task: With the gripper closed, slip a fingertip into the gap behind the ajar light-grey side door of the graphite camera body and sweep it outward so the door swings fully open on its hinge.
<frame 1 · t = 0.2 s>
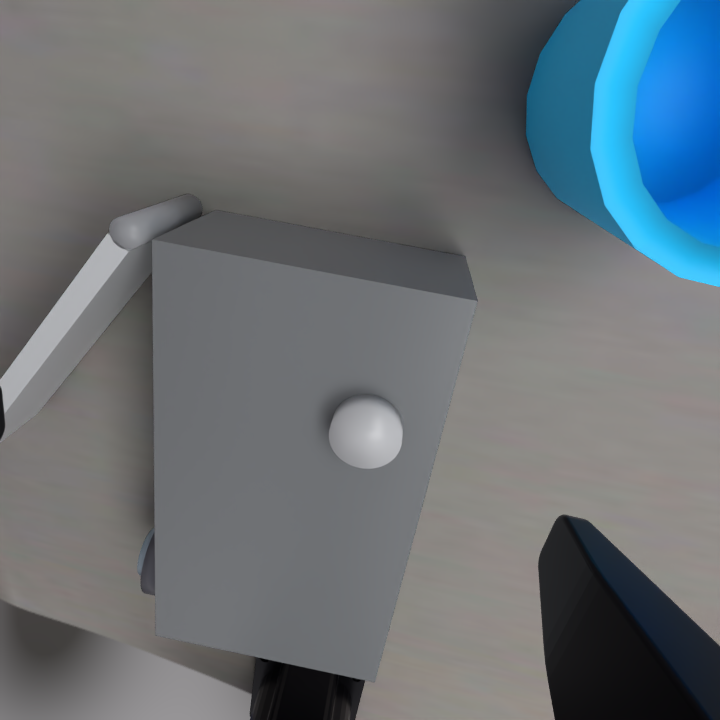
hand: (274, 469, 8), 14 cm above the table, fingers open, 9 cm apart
door: (68, 335, 21), point 3 cm above the table, hinge at 35.0°
mug: (644, 39, 18), on the table
camera body: (312, 424, 25), on the table
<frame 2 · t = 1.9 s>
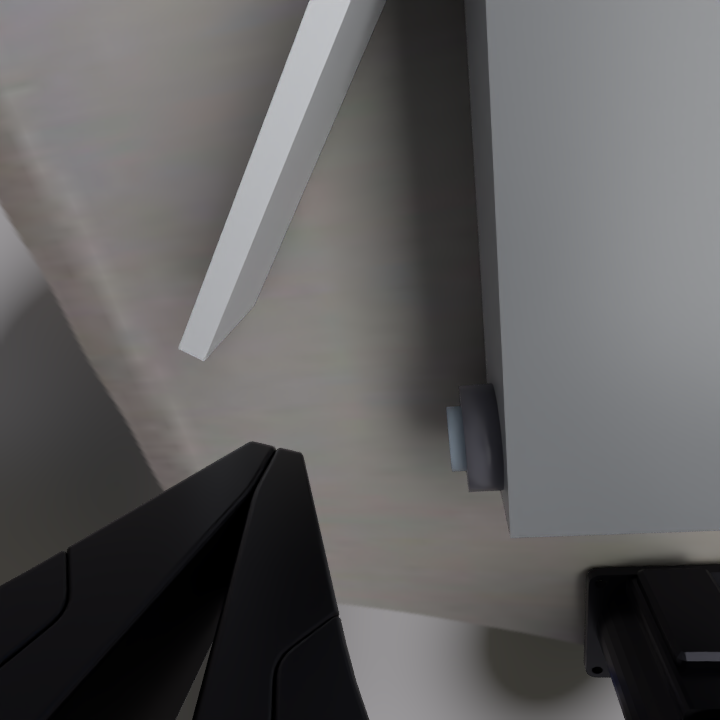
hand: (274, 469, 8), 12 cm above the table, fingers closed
door: (304, 113, 15), point 3 cm above the table, hinge at 35.0°
camera body: (635, 192, 17), on the table
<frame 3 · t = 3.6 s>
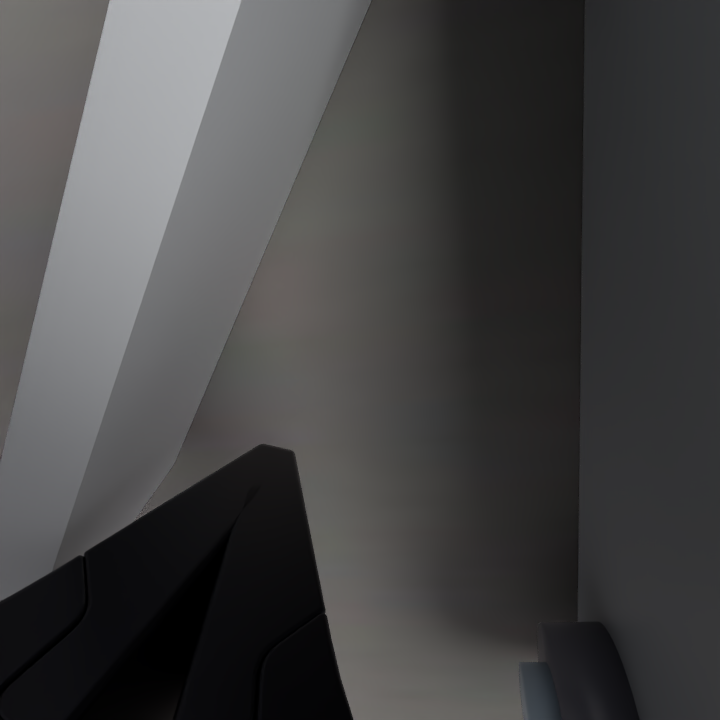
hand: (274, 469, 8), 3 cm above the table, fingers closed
door: (227, 147, 6), point 3 cm above the table, hinge at 35.6°, touching gripper
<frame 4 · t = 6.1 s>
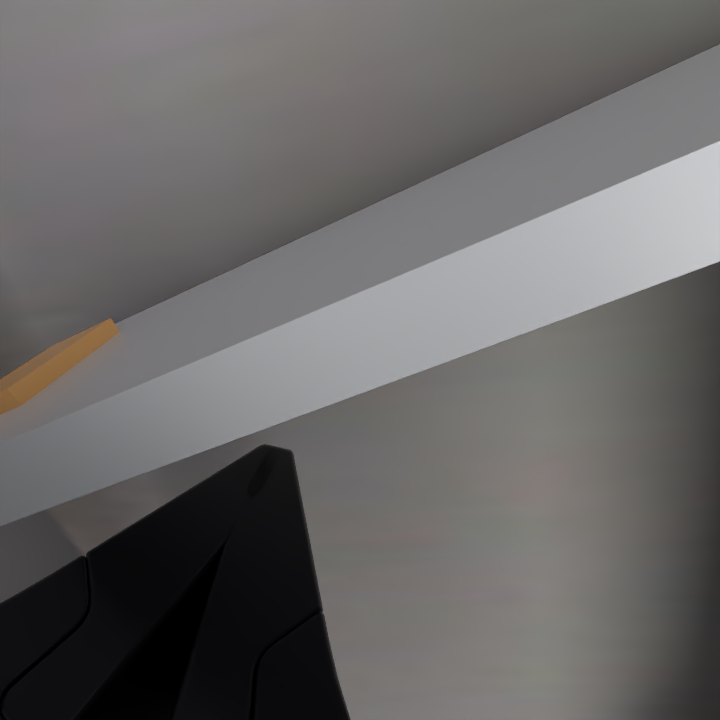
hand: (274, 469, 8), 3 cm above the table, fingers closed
door: (446, 228, 6), point 3 cm above the table, hinge at 74.1°, touching gripper
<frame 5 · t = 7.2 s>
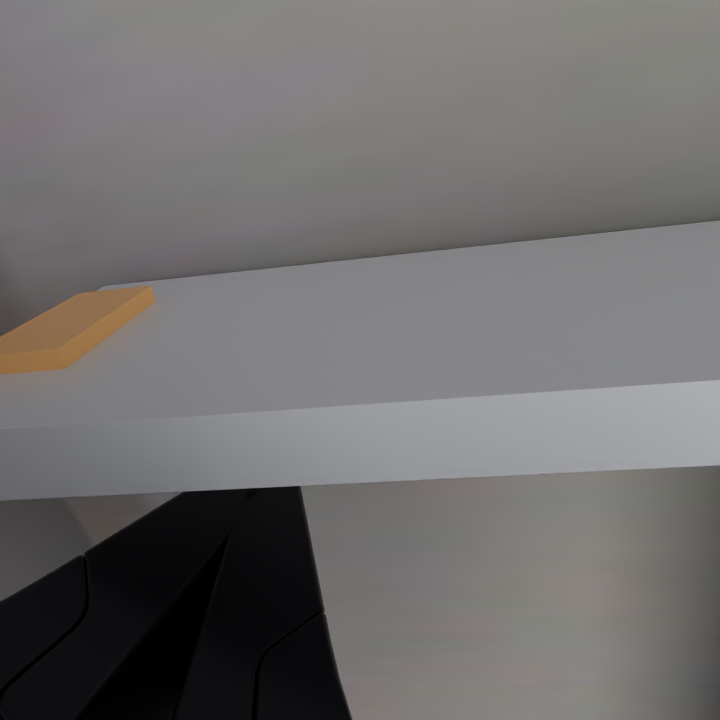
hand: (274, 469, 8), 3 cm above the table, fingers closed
door: (527, 316, 7), point 3 cm above the table, hinge at 91.4°, touching gripper
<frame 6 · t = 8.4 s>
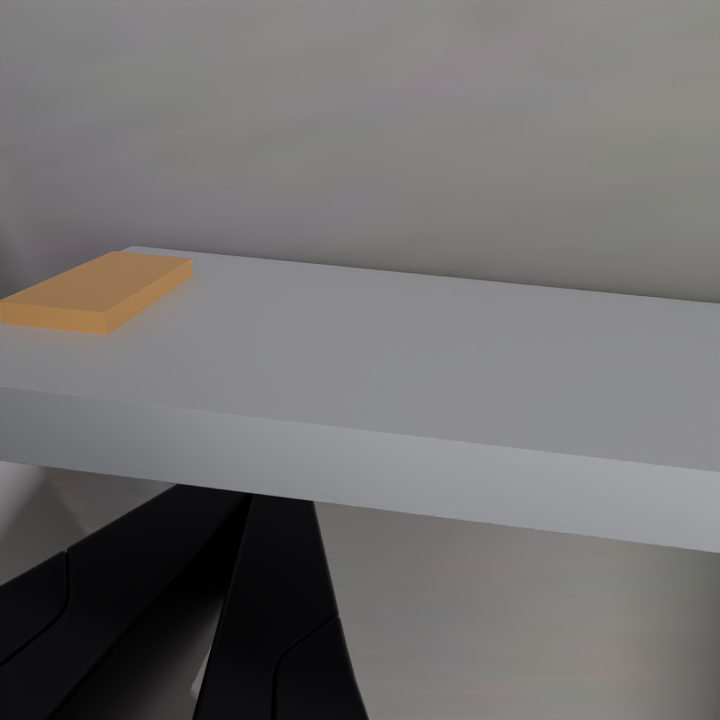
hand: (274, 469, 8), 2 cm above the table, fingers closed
door: (574, 368, 7), point 3 cm above the table, hinge at 102.7°
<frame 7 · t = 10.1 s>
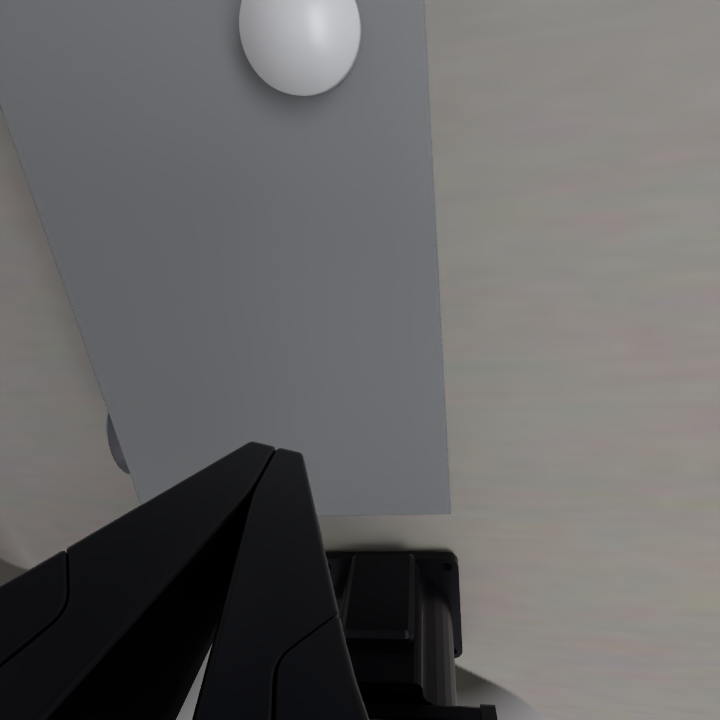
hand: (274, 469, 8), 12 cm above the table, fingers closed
camera body: (284, 199, 18), on the table
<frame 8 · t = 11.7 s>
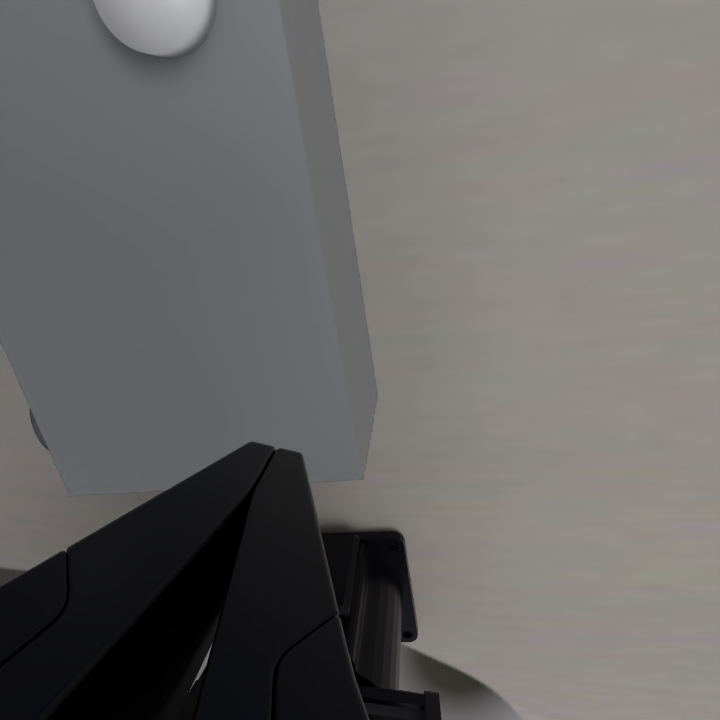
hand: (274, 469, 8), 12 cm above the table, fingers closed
camera body: (200, 178, 19), on the table
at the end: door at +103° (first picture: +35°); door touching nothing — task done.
